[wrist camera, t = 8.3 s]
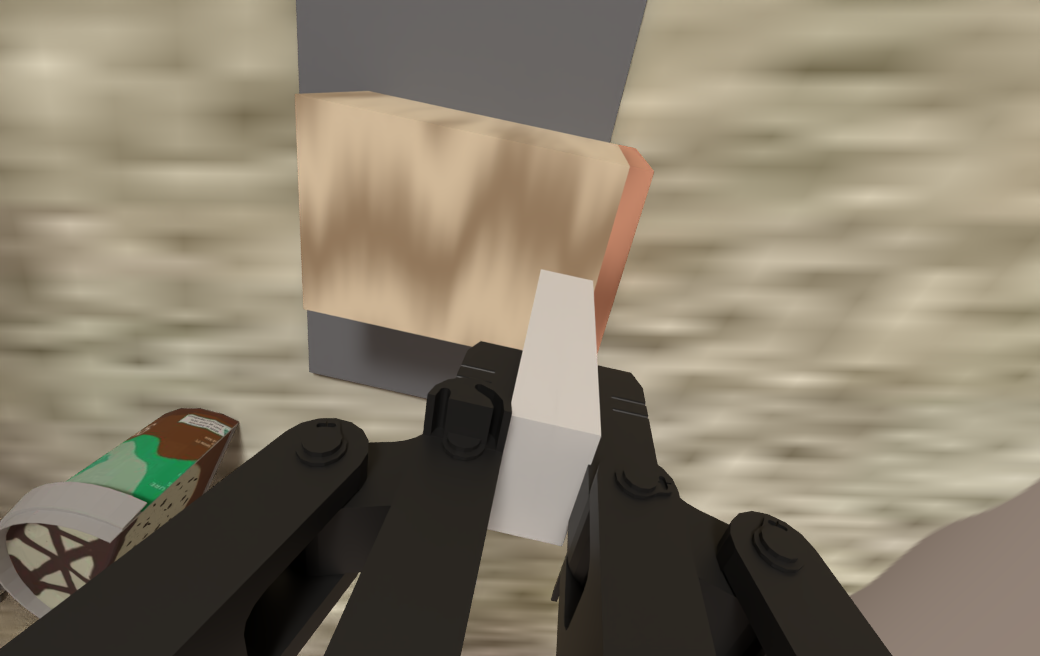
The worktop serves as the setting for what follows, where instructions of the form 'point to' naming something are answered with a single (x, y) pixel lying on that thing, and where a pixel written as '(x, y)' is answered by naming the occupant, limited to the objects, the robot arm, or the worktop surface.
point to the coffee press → (3, 595)
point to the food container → (108, 506)
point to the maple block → (455, 215)
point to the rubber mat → (465, 87)
